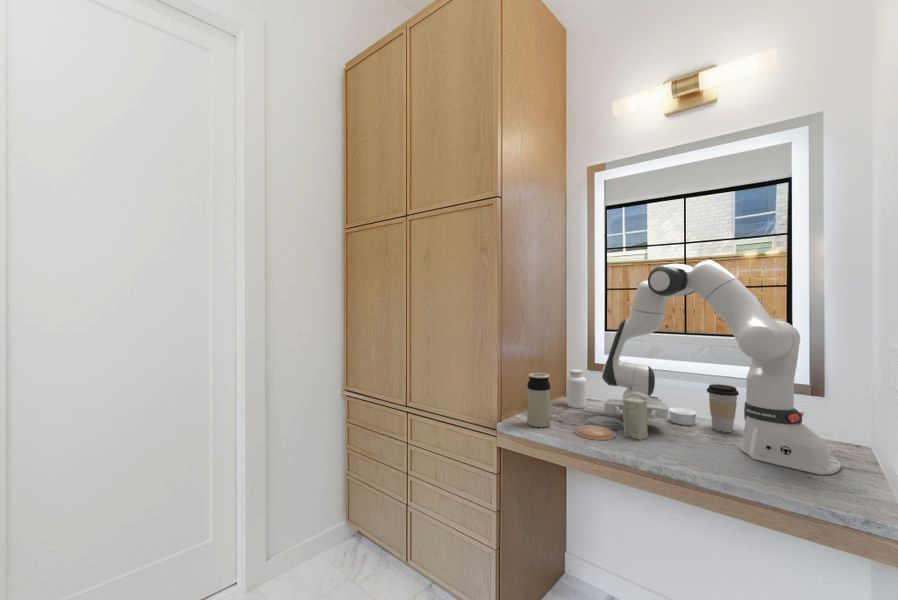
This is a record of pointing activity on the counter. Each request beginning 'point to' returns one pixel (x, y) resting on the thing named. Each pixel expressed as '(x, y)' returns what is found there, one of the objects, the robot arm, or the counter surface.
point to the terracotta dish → (594, 432)
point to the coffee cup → (722, 406)
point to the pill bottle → (576, 389)
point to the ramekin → (682, 416)
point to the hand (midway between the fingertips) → (635, 414)
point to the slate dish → (605, 422)
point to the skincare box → (635, 418)
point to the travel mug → (538, 400)
